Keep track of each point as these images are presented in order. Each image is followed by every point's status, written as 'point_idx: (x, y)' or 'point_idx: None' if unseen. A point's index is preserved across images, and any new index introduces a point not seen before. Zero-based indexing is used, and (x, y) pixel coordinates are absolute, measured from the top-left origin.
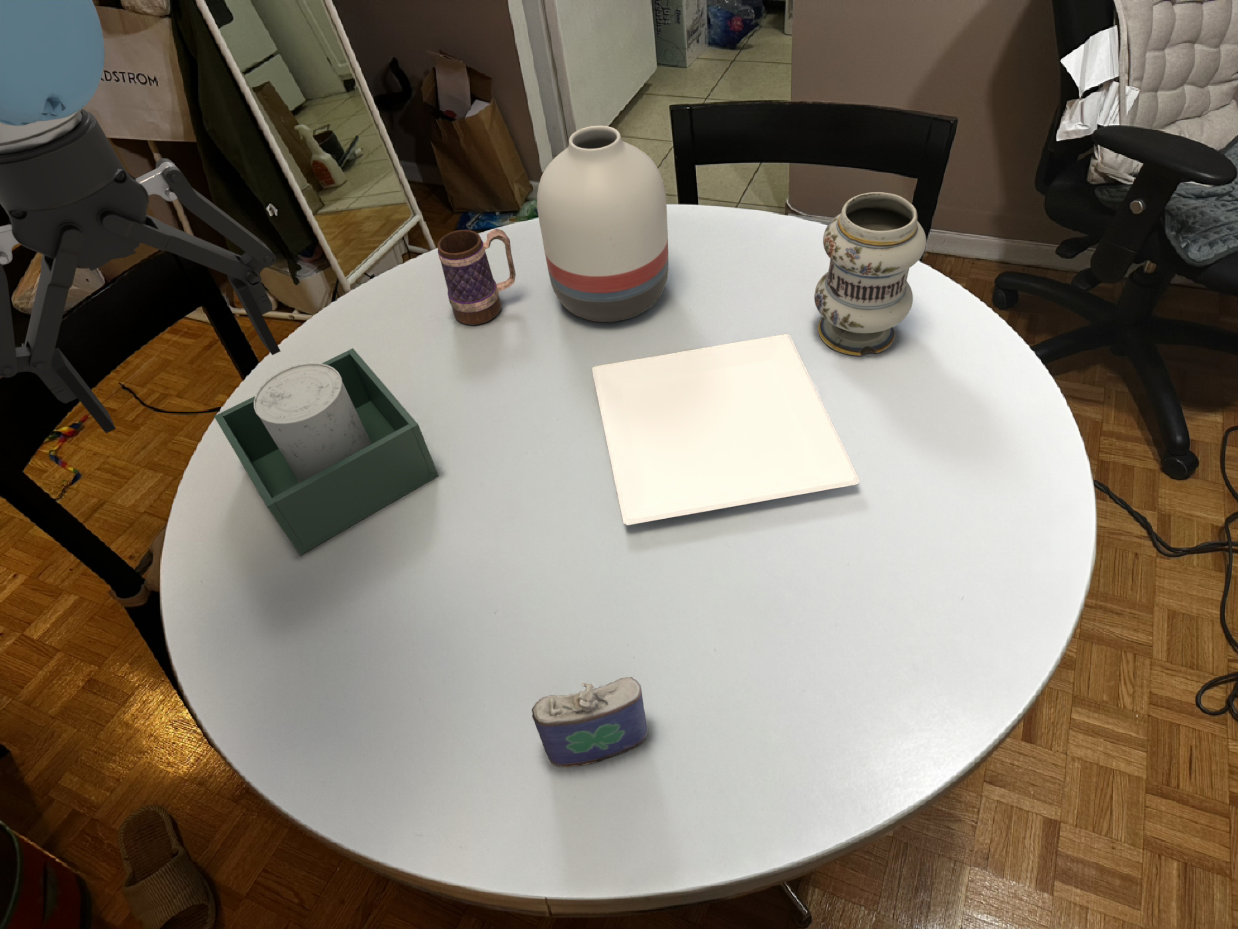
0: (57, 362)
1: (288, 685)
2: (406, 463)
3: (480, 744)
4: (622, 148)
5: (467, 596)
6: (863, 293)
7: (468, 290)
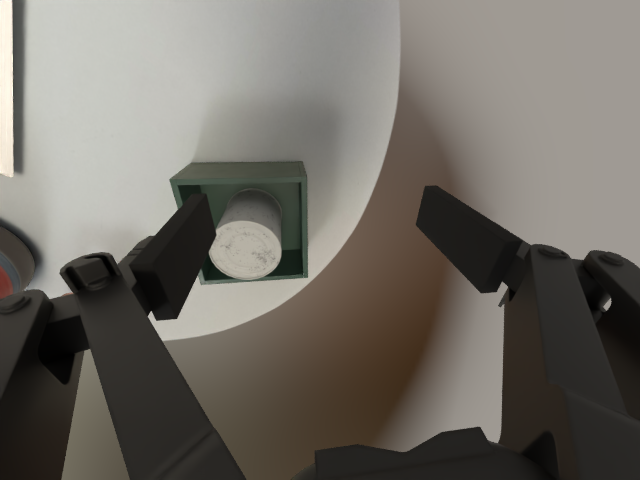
0: (507, 257)
1: (350, 57)
2: (202, 169)
3: None
4: None
5: (205, 25)
6: None
7: None
